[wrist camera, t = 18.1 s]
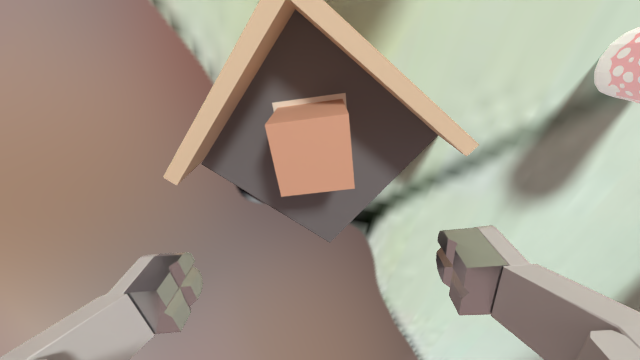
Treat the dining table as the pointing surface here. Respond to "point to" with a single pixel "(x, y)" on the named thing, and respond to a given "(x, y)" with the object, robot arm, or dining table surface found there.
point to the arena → (309, 87)
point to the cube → (311, 147)
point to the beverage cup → (620, 68)
